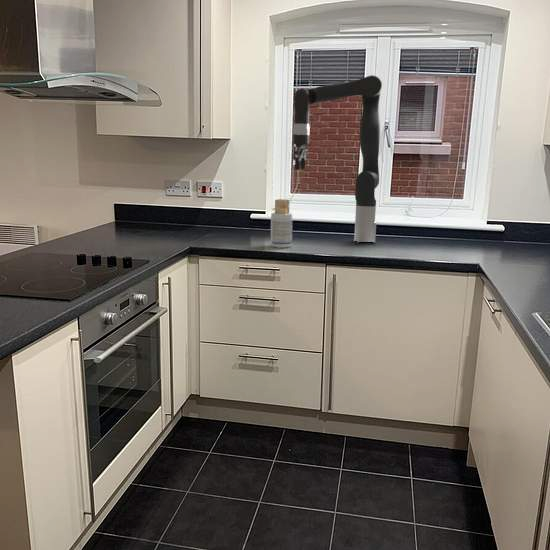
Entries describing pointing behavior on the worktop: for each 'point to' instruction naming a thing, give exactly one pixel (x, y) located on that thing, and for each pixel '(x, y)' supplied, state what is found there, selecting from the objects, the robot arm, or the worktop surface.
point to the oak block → (282, 206)
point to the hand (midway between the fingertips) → (300, 169)
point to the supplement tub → (281, 230)
